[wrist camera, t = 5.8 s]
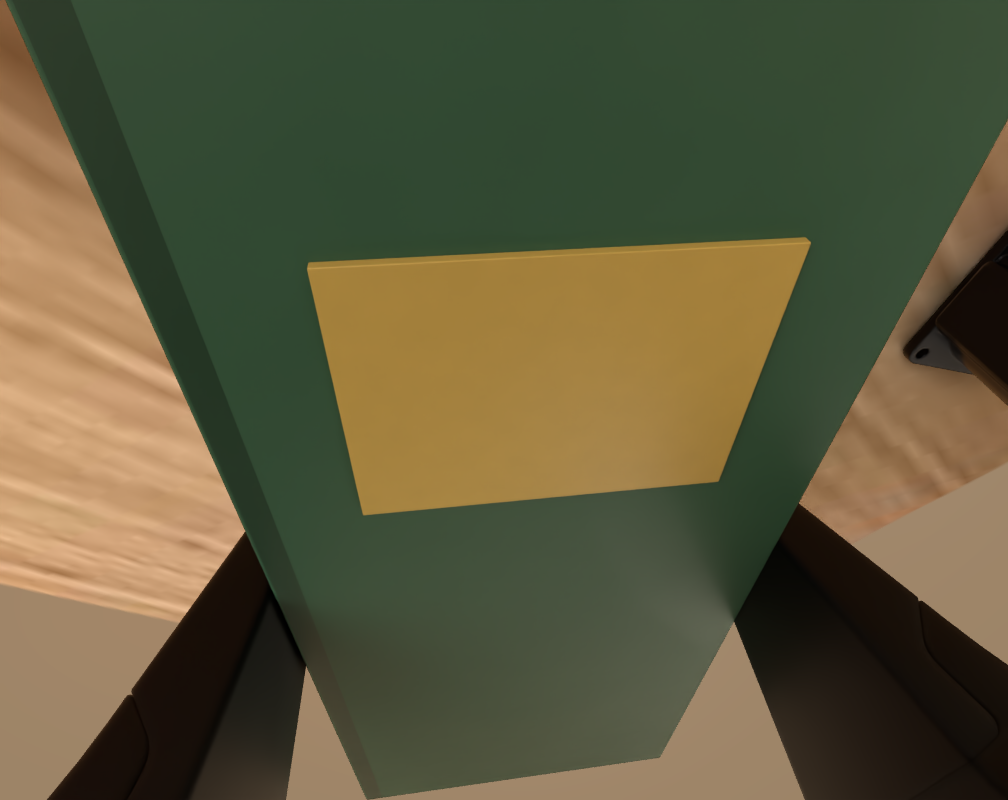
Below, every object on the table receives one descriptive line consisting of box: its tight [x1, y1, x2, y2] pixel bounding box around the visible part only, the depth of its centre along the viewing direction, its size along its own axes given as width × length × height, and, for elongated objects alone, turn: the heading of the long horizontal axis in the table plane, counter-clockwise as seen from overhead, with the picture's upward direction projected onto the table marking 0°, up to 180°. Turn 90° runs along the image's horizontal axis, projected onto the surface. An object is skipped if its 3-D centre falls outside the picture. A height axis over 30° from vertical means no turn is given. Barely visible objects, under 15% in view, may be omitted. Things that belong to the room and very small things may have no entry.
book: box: [6, 0, 1008, 800], centre depth 10 cm, size 15×7×3 cm, turn 179°
